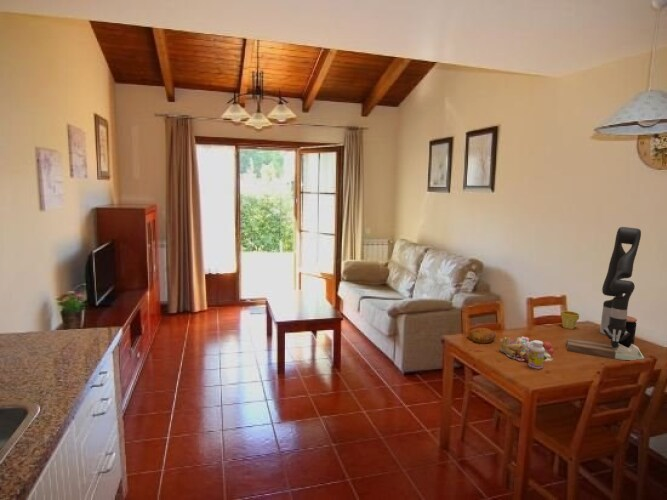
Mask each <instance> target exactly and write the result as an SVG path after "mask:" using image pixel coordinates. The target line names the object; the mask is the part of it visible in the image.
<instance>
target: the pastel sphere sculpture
mask: <svg viewBox="0 0 667 500" xmlns="http://www.w3.org/2000/svg"><path fill="white" fill-rule="evenodd" d="M533 341H534V340H530V338H529V337H527V336H521V337H517V338H516V341H515V340H514V339H511V337H507V336H504V338H499V342H500V347H501V348H500V349H499V351H500V352H502V353H505V355H506V356H507V358H511V359H514V360H517V361H519V362H526V363H528V362H529V352H530V346H532V345H533ZM552 346H553V345H552V343H551V342H549V341H545V342H543V346H542V347H544V349H545V352H544V361H543V363H549V362H552V361H553V360H554V359H555V358H554V357H555V354H554V353H555V352H554V351H555V349H553V347H552ZM546 350H547V351H546Z"/></svg>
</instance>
